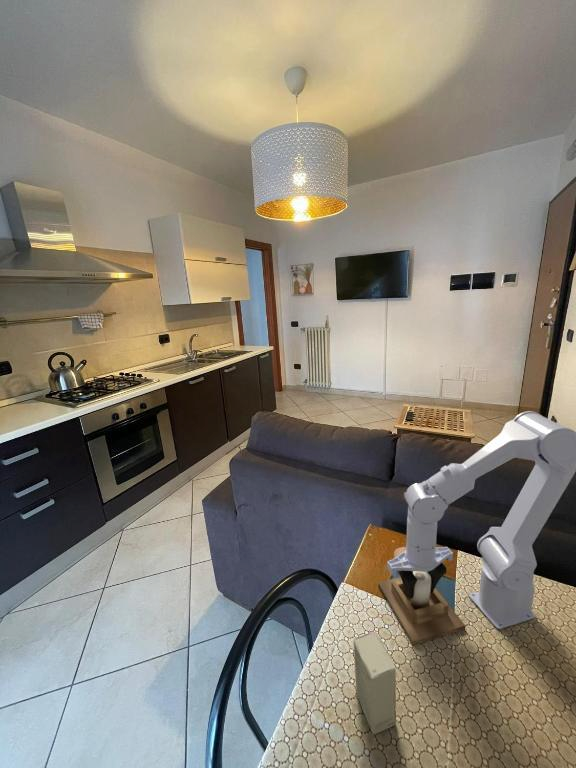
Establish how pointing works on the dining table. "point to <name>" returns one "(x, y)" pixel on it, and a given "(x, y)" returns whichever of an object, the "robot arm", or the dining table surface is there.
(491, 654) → the dining table surface
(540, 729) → the dining table surface
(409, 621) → the caddy
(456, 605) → the dining table surface
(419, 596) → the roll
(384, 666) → the skincare box
